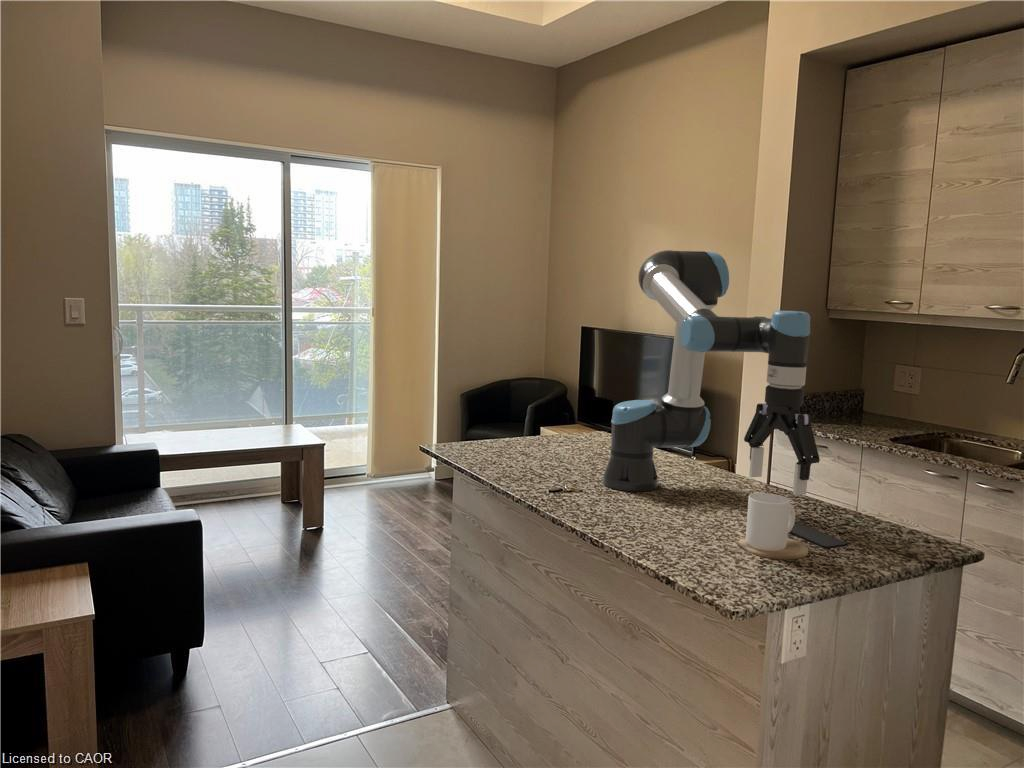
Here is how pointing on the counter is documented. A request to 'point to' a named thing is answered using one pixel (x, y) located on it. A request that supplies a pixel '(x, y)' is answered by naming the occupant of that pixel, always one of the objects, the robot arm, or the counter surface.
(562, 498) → the counter surface
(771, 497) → the mug
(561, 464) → the counter surface
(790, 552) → the coaster
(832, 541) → the smartphone
